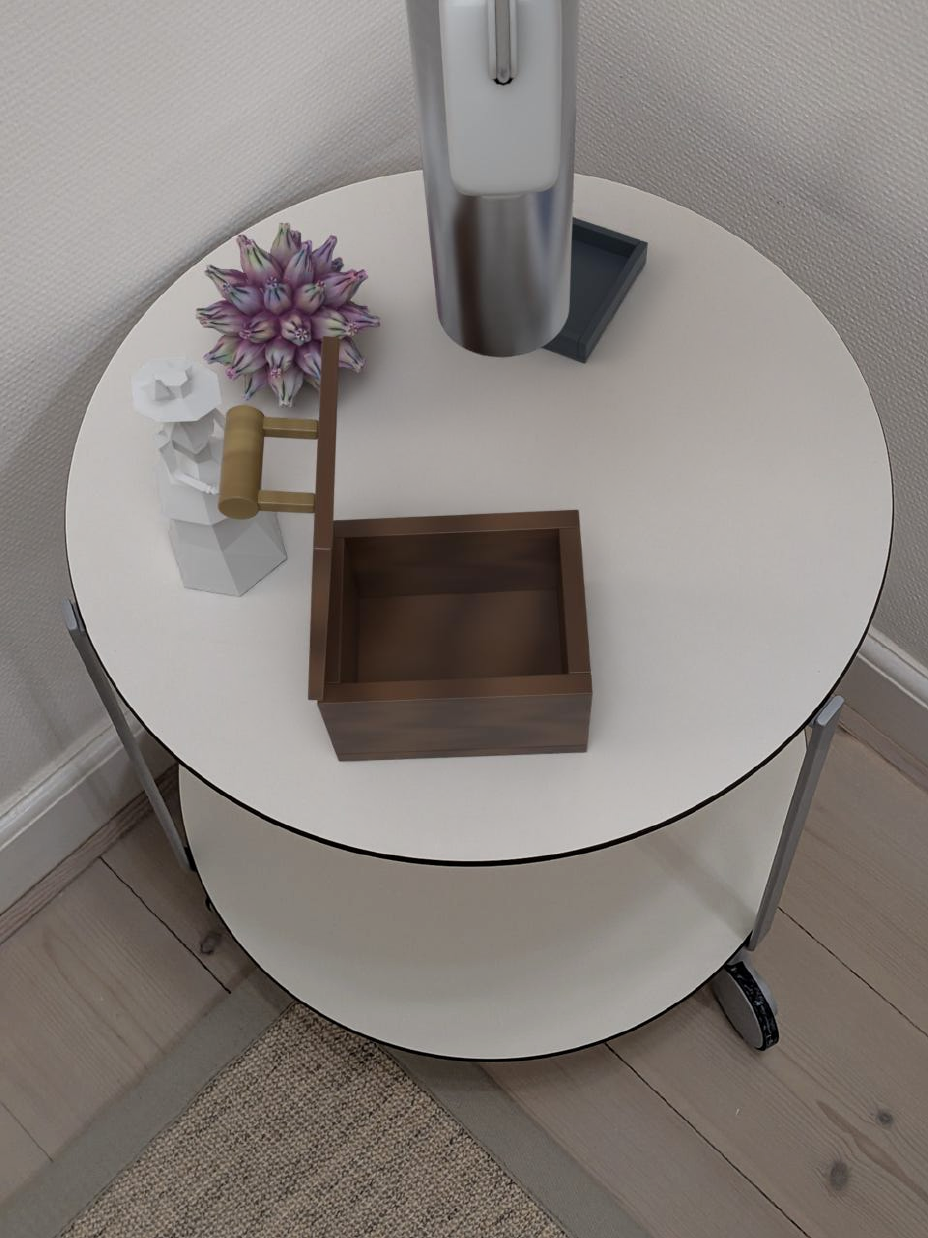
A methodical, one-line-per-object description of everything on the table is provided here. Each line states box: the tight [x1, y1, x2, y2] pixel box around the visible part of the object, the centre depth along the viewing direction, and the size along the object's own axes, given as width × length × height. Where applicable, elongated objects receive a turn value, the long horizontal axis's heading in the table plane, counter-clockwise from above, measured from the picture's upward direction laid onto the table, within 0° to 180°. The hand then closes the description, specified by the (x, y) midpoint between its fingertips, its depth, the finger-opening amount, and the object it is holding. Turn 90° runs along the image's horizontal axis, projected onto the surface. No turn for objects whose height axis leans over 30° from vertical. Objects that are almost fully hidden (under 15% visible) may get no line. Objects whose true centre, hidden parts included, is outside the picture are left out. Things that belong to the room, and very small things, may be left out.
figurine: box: [130, 355, 288, 598], centre depth 71 cm, size 7×8×18 cm
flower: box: [194, 222, 381, 409], centre depth 81 cm, size 12×12×12 cm
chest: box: [316, 509, 593, 762], centre depth 71 cm, size 14×11×8 cm
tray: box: [541, 216, 649, 364], centre depth 87 cm, size 11×10×2 cm
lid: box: [218, 336, 340, 701], centre depth 60 cm, size 15×11×5 cm
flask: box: [404, 0, 581, 358], centre depth 51 cm, size 6×6×20 cm
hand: (497, 117), depth 50 cm, fingers closed on flask, 6 cm apart
